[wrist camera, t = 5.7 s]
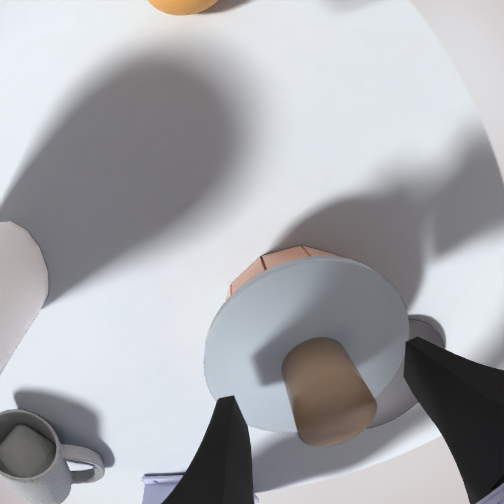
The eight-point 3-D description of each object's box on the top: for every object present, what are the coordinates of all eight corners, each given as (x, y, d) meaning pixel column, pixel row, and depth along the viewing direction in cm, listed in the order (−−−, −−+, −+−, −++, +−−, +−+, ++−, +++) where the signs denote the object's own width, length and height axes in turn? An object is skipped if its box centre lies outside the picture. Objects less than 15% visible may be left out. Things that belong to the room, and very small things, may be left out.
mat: (327, 438, 20) (328, 443, 20) (312, 349, 17) (315, 355, 17) (432, 395, 20) (435, 399, 20) (445, 299, 17) (450, 303, 17)
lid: (242, 438, 15) (248, 500, 11) (170, 297, 12) (147, 362, 8) (401, 384, 15) (435, 433, 10) (392, 226, 12) (457, 257, 8)
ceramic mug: (24, 445, 19) (2, 495, 12) (2, 397, 17) (-32, 452, 10) (111, 477, 21) (99, 536, 14) (102, 435, 19) (81, 508, 12)
